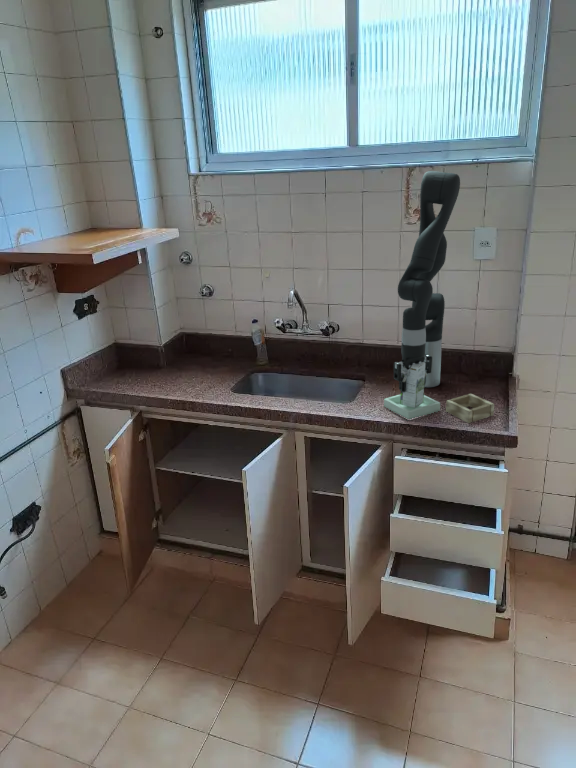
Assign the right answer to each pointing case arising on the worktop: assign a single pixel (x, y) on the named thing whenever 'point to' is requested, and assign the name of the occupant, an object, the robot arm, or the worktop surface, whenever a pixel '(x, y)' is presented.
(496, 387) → the worktop surface
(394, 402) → the tray
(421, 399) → the syrup box
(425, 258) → the robot arm
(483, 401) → the collar
